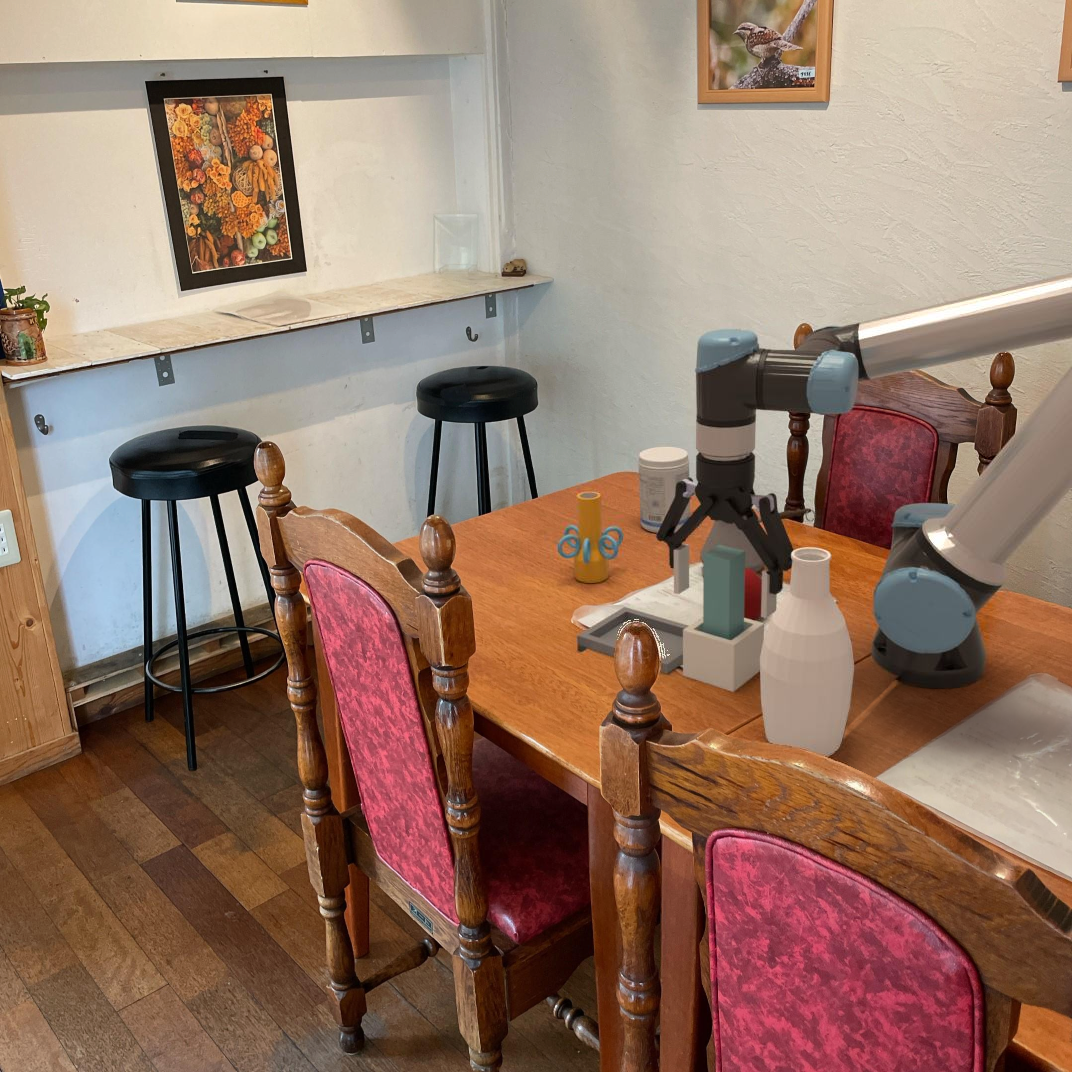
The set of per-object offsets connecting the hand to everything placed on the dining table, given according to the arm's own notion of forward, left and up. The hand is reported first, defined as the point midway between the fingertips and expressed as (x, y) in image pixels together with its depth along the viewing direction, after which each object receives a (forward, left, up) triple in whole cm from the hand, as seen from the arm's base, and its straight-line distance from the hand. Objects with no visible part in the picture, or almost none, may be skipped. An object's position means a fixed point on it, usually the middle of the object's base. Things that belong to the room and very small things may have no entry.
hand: (723, 602), depth 144 cm
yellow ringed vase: (+37, -18, -12) cm, 43 cm away
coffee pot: (+13, -33, -12) cm, 37 cm away
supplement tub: (+40, -45, -12) cm, 62 cm away
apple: (+8, -17, -12) cm, 22 cm away
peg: (0, 0, -11) cm, 11 cm away
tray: (+14, -1, -12) cm, 18 cm away
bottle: (-17, +8, -12) cm, 22 cm away
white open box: (0, 0, -12) cm, 12 cm away
